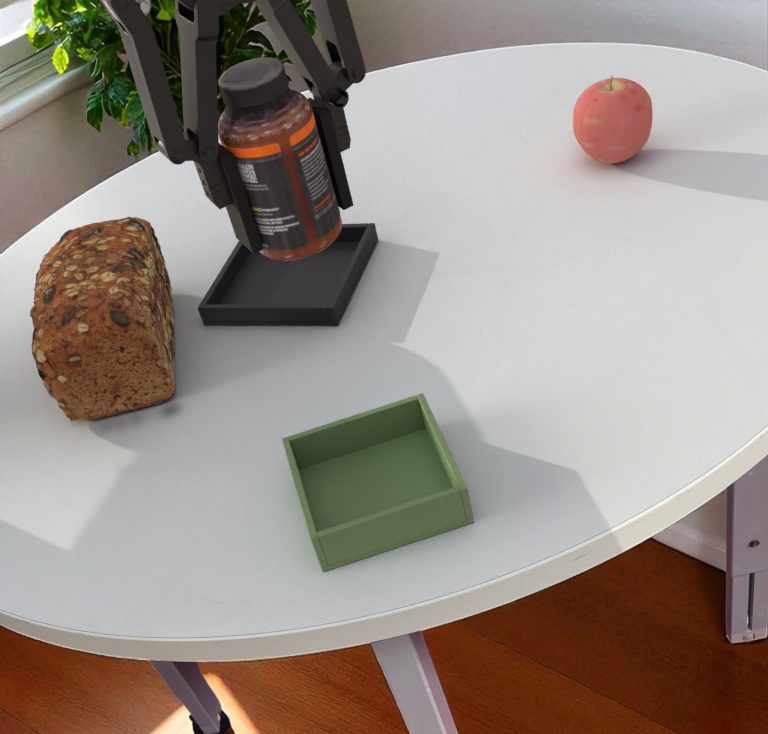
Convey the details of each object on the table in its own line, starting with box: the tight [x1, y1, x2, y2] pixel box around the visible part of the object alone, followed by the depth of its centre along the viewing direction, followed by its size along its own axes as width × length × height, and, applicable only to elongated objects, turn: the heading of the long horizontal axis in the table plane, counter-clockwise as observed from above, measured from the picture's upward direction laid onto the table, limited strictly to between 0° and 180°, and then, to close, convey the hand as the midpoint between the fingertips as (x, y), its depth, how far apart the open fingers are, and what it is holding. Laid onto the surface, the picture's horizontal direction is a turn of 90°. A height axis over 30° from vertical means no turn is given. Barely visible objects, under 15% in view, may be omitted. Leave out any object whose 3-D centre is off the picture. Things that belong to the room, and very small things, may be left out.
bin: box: [281, 392, 475, 573], centre depth 76 cm, size 11×11×3 cm
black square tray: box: [197, 222, 379, 327], centre depth 99 cm, size 13×13×2 cm
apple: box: [572, 75, 653, 164], centre depth 101 cm, size 7×7×8 cm
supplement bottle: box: [217, 56, 343, 261], centre depth 66 cm, size 6×6×11 cm
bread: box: [29, 216, 176, 422], centre depth 93 cm, size 19×11×10 cm, turn 9°
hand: (294, 221), depth 69 cm, fingers closed on supplement bottle, 6 cm apart
